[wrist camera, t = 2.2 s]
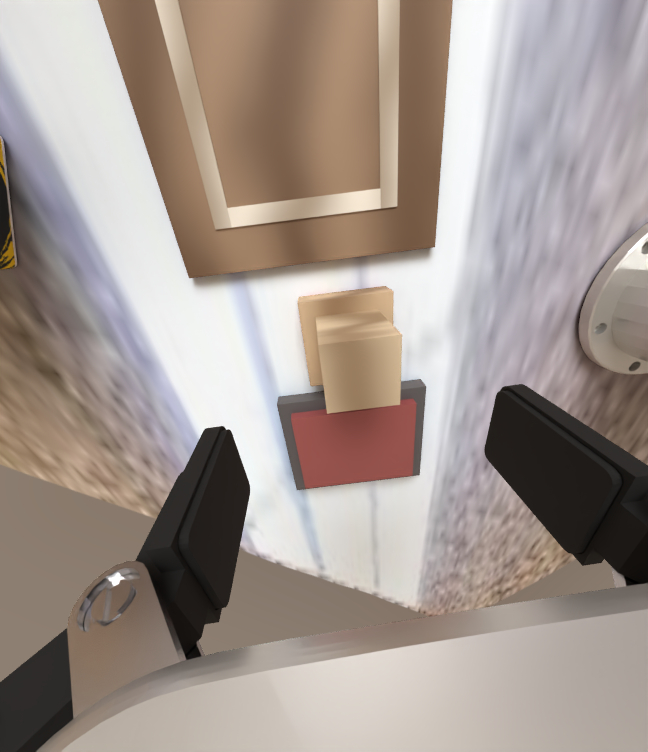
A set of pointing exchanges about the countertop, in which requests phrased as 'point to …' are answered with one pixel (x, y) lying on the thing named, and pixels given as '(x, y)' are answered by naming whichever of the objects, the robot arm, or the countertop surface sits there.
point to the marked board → (289, 123)
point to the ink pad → (353, 439)
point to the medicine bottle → (6, 217)
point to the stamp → (352, 348)
